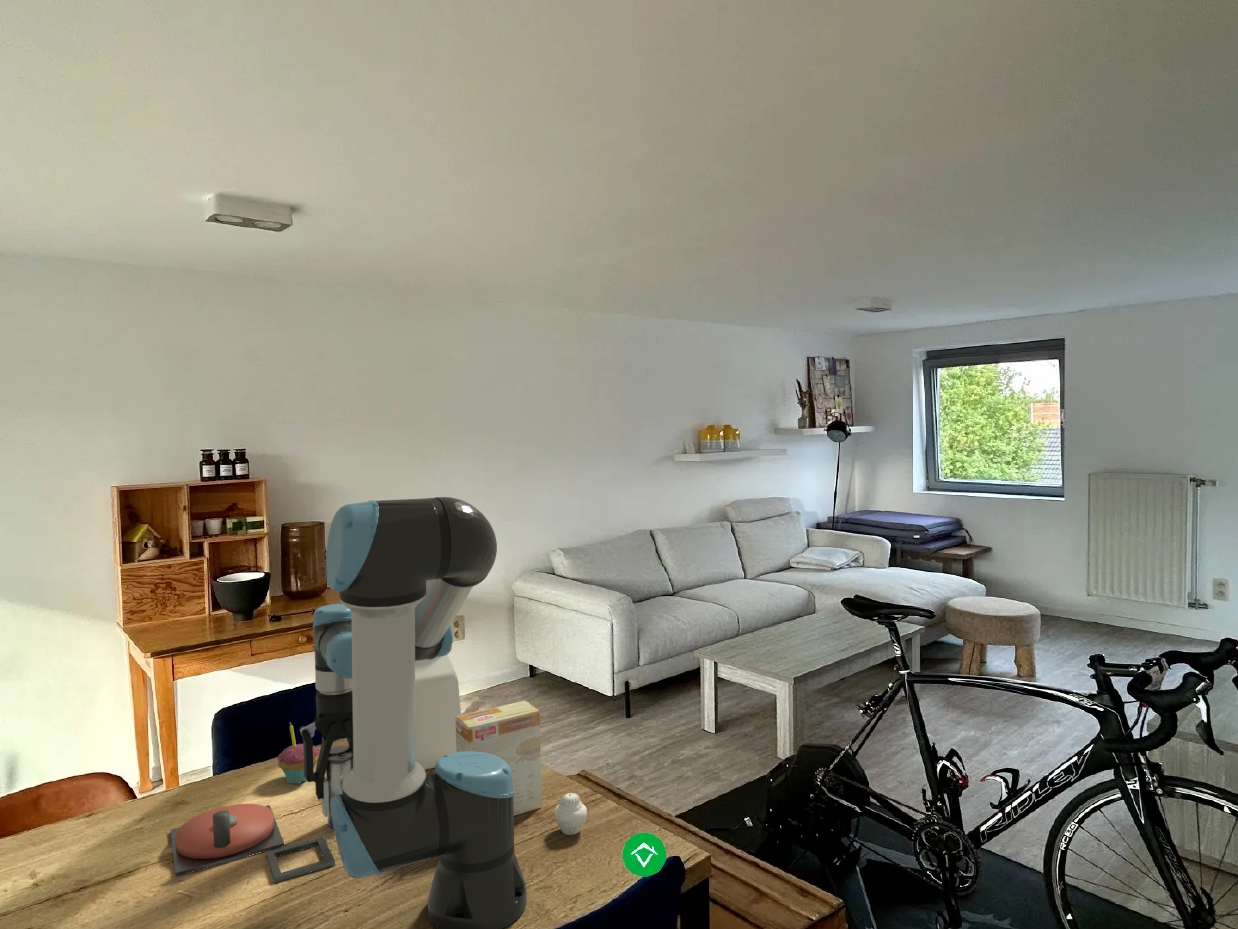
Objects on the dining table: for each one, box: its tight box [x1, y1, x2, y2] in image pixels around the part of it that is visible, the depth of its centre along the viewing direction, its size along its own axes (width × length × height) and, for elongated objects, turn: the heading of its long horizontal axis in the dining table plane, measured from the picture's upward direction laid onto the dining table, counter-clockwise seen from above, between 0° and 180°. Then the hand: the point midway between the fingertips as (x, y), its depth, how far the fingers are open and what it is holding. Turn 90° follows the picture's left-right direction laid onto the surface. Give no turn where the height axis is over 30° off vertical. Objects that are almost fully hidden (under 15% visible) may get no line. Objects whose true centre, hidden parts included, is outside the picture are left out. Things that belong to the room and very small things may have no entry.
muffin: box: [553, 792, 588, 836], centre depth 145 cm, size 6×6×7 cm
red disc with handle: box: [176, 803, 275, 859], centre depth 144 cm, size 16×16×7 cm
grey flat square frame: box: [265, 836, 336, 884], centre depth 137 cm, size 10×10×1 cm
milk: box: [415, 654, 462, 771], centre depth 178 cm, size 12×12×26 cm
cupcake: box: [276, 722, 320, 784], centre depth 168 cm, size 9×8×12 cm
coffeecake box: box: [456, 700, 543, 817], centre depth 153 cm, size 15×7×20 cm, turn 122°
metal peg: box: [325, 744, 353, 831], centre depth 149 cm, size 5×5×14 cm
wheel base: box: [170, 804, 285, 877], centre depth 144 cm, size 17×17×1 cm
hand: (341, 809), depth 149 cm, fingers open, 5 cm apart
